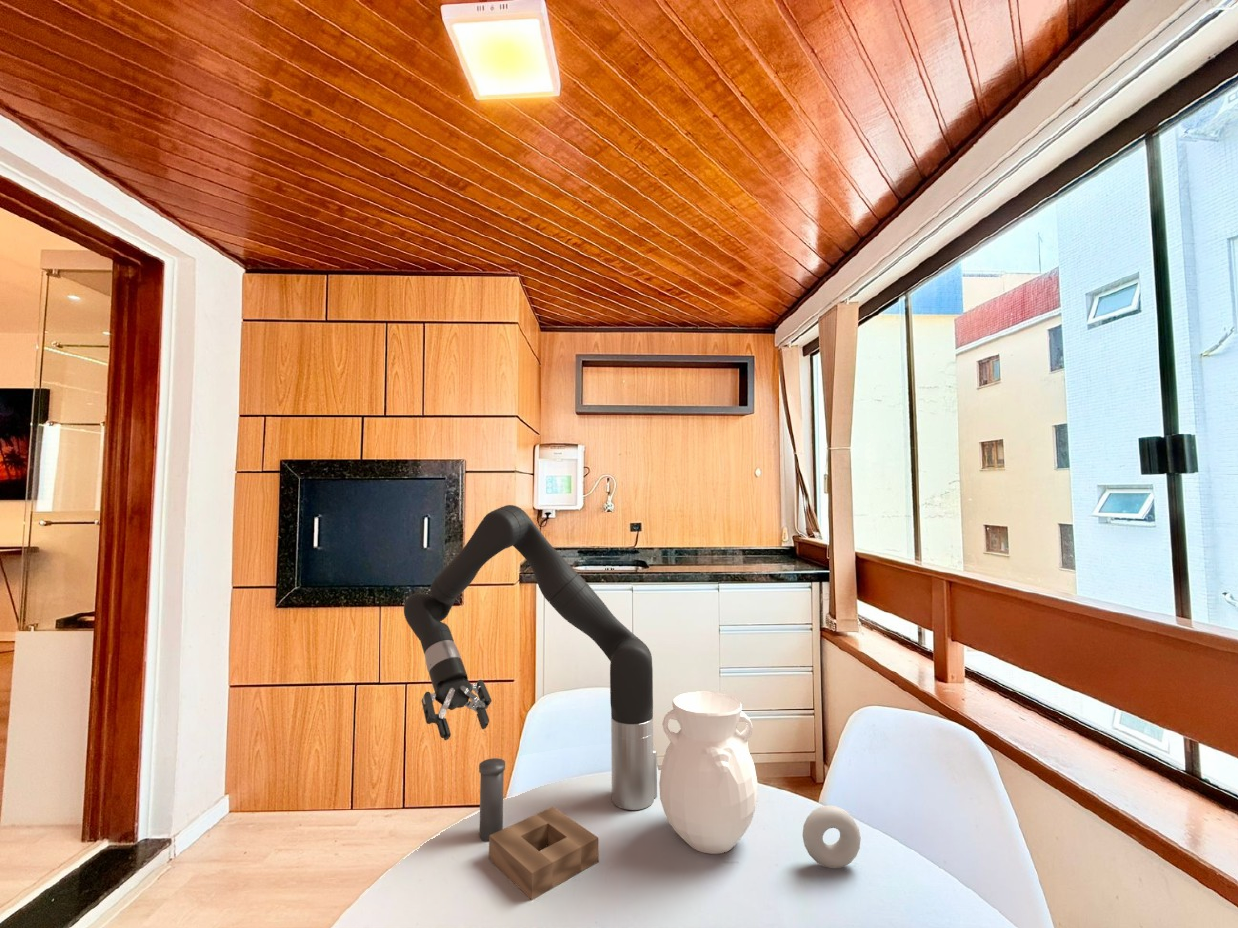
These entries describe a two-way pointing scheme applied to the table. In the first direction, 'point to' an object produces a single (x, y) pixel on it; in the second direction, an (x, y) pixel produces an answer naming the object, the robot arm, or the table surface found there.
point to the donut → (838, 851)
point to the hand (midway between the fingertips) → (467, 732)
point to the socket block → (543, 851)
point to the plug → (491, 797)
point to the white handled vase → (708, 772)
